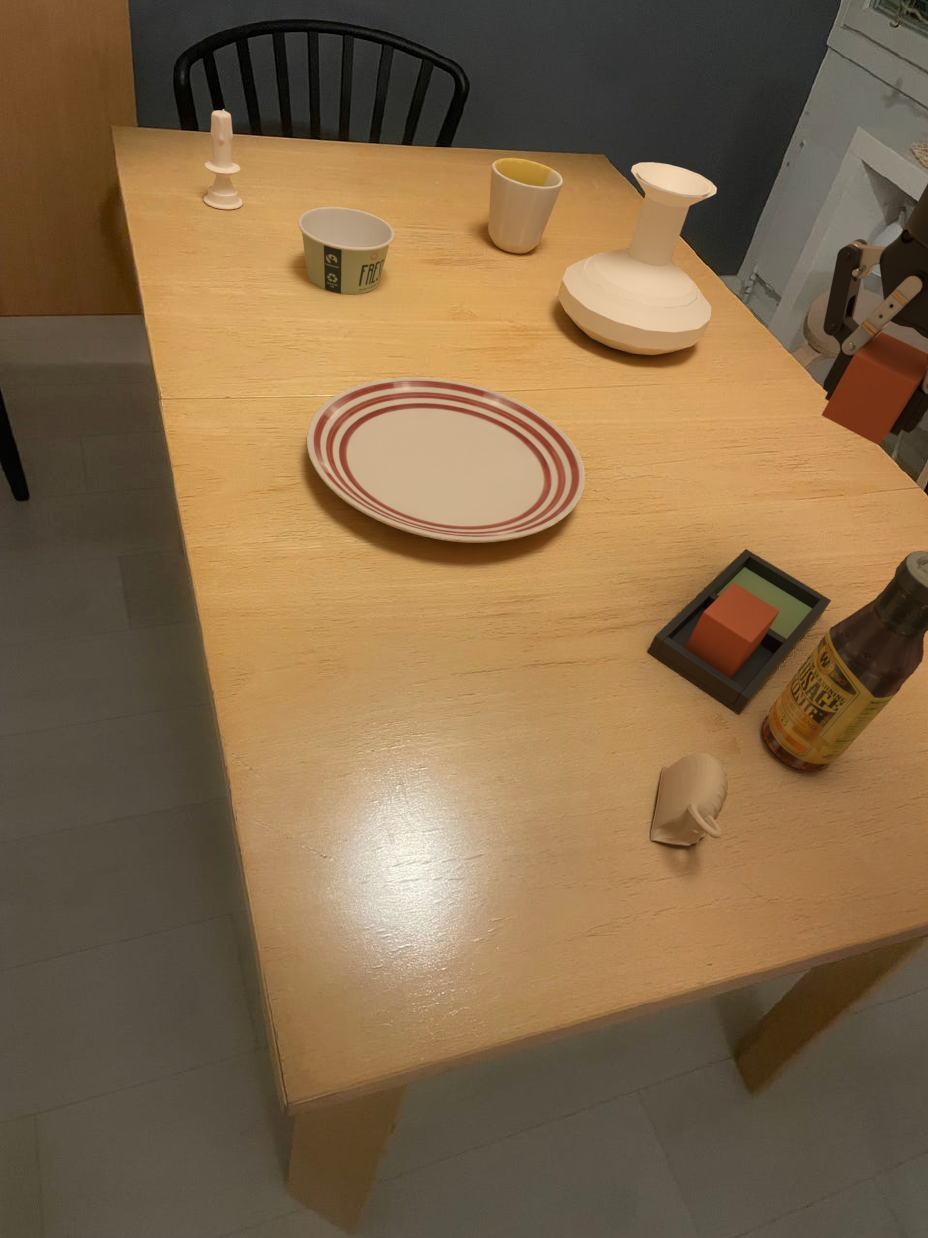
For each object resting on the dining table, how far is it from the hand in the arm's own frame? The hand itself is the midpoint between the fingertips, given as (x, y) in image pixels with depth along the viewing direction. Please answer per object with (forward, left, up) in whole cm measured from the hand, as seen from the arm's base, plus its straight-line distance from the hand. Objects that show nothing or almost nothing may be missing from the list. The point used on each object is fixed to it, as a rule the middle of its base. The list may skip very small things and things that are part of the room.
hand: (865, 413), depth 64 cm
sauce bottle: (-10, +10, -23) cm, 26 cm away
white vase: (+38, -38, -22) cm, 58 cm away
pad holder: (0, +2, -22) cm, 22 cm away
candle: (+93, -16, -22) cm, 97 cm away
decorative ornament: (-6, +23, -22) cm, 33 cm away
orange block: (0, 0, 0) cm, 0 cm away
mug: (+64, -46, -23) cm, 82 cm away
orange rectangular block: (0, +6, -22) cm, 22 cm away
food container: (+68, -15, -22) cm, 73 cm away
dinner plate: (+32, +6, -23) cm, 39 cm away
